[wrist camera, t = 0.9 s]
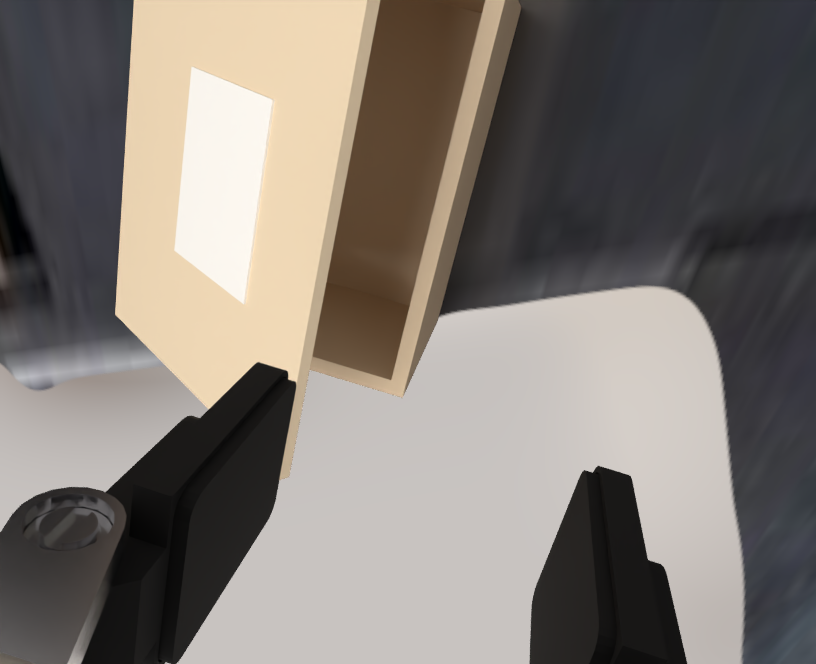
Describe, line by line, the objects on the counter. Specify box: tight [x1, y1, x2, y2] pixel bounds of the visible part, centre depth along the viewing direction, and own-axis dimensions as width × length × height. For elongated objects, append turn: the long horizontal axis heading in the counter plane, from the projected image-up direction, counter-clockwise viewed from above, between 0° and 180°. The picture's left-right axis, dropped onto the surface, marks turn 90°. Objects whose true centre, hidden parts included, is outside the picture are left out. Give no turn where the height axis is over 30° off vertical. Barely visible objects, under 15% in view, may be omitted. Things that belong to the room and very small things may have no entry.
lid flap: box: [115, 0, 380, 480], centre depth 28 cm, size 16×20×1 cm
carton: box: [310, 0, 521, 398], centre depth 39 cm, size 16×24×12 cm, turn 167°
